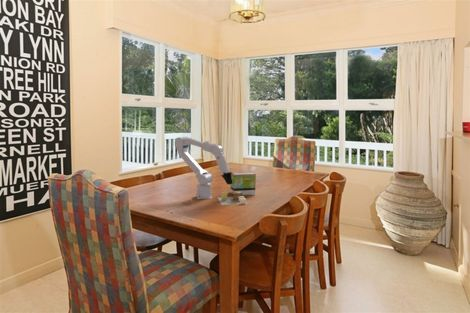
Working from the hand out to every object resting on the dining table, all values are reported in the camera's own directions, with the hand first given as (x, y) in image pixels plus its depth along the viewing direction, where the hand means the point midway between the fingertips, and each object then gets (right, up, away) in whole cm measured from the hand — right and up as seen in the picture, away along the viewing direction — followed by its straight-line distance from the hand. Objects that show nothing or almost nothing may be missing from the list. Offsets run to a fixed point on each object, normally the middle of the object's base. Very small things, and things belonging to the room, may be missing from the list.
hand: (229, 184), depth 197 cm
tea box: (+9, -9, +18) cm, 22 cm away
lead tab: (-3, -10, 0) cm, 11 cm away
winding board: (+1, -11, -1) cm, 11 cm away
